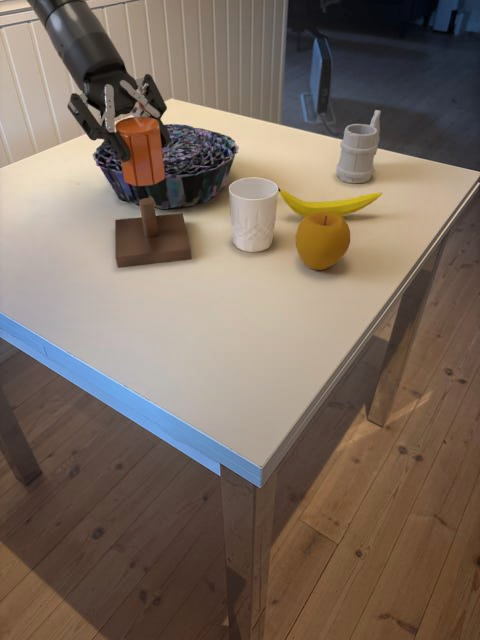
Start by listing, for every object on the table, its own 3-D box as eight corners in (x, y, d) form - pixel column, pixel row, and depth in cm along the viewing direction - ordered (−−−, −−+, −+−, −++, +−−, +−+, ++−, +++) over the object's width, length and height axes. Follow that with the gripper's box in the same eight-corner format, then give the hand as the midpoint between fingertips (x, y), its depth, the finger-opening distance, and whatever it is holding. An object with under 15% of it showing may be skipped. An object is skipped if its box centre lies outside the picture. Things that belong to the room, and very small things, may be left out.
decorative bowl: (144, 161, 114) (135, 117, 107) (256, 169, 105) (254, 121, 99) (83, 213, 95) (67, 164, 89) (212, 227, 87) (205, 174, 81)
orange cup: (124, 187, 72) (115, 133, 67) (123, 170, 77) (114, 118, 71) (166, 183, 73) (160, 130, 68) (163, 166, 78) (157, 115, 72)
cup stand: (117, 267, 79) (108, 223, 73) (117, 229, 87) (108, 188, 82) (191, 258, 80) (187, 215, 75) (183, 222, 89) (179, 181, 84)
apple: (334, 287, 74) (342, 237, 68) (284, 271, 77) (287, 222, 72) (353, 259, 80) (361, 210, 74) (305, 245, 83) (310, 198, 77)
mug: (328, 177, 103) (335, 119, 95) (357, 159, 109) (366, 103, 101) (360, 187, 99) (370, 128, 91) (388, 168, 106) (399, 111, 98)
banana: (379, 221, 89) (386, 189, 85) (275, 223, 89) (277, 191, 84) (375, 213, 91) (382, 181, 87) (274, 215, 91) (275, 184, 86)
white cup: (280, 233, 86) (282, 180, 79) (270, 257, 80) (272, 202, 74) (237, 227, 88) (236, 174, 81) (224, 250, 82) (222, 196, 75)
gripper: (44, 39, 63) (114, 154, 64) (134, 22, 70) (195, 125, 72) (35, 75, 69) (99, 179, 71) (119, 56, 77) (175, 150, 78)
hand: (147, 151), depth 71 cm, fingers closed on orange cup, 6 cm apart
